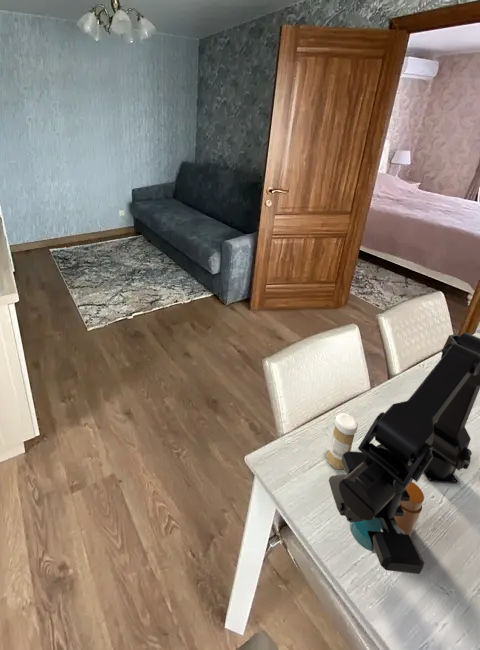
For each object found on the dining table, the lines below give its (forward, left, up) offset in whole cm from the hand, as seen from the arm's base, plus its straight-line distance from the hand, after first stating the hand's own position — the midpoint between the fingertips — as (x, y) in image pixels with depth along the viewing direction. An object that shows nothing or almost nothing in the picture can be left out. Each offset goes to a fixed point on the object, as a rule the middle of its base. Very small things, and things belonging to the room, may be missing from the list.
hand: (367, 532), depth 65 cm
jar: (-9, -5, -5) cm, 11 cm away
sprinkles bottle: (-1, -18, -5) cm, 19 cm away
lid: (0, 0, 0) cm, 0 cm away
